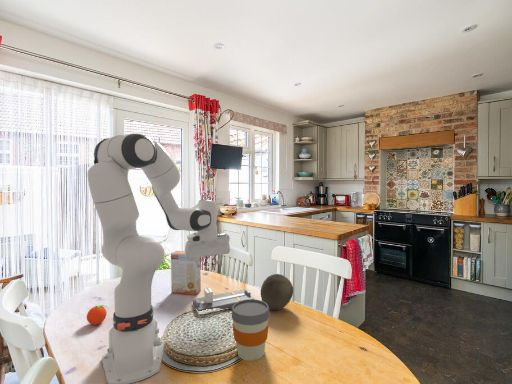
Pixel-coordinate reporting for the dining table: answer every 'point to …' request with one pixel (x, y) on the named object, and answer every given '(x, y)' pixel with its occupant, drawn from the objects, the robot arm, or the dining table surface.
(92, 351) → the dining table surface
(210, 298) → the fader
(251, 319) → the reusable coffee cup
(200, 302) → the console
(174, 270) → the cracker box
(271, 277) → the dark grey stone
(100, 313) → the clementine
